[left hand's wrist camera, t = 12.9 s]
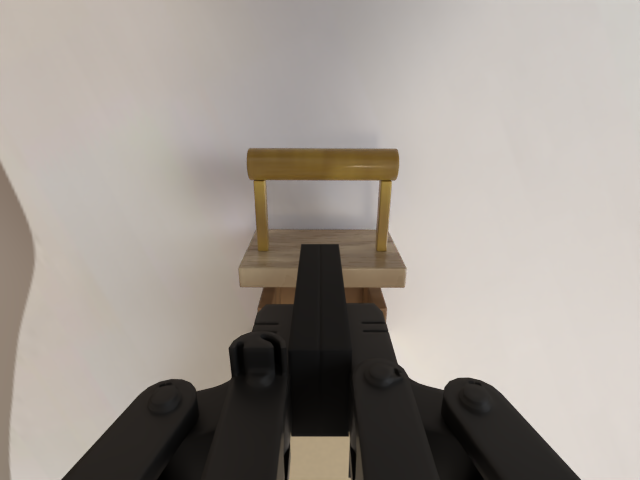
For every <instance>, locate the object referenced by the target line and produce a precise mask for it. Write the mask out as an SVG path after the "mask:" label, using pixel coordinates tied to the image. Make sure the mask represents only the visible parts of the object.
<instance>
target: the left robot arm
mask: <svg viewBox="0 0 640 480" xmlns="http://www.w3.org/2000/svg"><path fill="white" fill-rule="evenodd" d="M229 355H230V364H231V373H232V378H231V380H229V381H228V382H226V383H224V384H222V385H219V386H216V387H213V388H209V389H205V390H201V391H197V392H196V389H195V387H194V386H193V385H192V384H191V383H190V382H187V381H185V380H182V379H170V380H166V381H161V382H158V383H156V384H154V385H152V386H150V387H148V388H147V389H146V390H145V391H143V392H142V393H141V394H140V395H139V396H138V397H137V398H136V399H135V400H134V401H133V402H132V403H131V404H130V405H129V407H128V408H127V409H126V410H125V411H124V412H123V413H122V414H121V415H120V416H119V417H118V419H117V420H116V421H115V422H114V423H113V424H112V425H111V426H110V427H109V428H108V429H107V430H106V432H105V433H104V434H103V435H102V436H101V437H100V438H99V439H98V440H97V441H96V442H95V444H94V445H93V446H92V447H91V448H90V449H89V450H88V451H87V452H86V453H85V454H84V456H83V457H82V458H81V459H80V460H79V461H78V462H77V463H76V464H75V465H74V466H73V468H72V469H71V470H70V471H69V472H68V473H67V474H66V475H65V476H64V477H63V478H62V480H289V473H290V460H291V449H290V438H291V437H349V436H350V448H349V473H348V478H351V480H581V479H580V478H579V477H578V476H577V475H576V474H575V473H574V472H573V471H572V469H571V468H570V467H569V466H568V465H567V464H566V463H565V462H564V461H563V460H562V459H561V458H560V457H559V455H558V454H557V453H556V452H555V451H554V450H553V449H552V448H551V447H550V446H549V445H548V444H547V442H546V441H545V440H544V439H543V438H542V437H541V436H540V435H539V434H538V433H537V432H536V431H535V429H534V428H533V427H532V426H531V425H530V424H529V423H528V422H527V421H526V420H525V419H524V418H523V416H522V415H521V414H520V413H519V412H518V411H517V410H516V409H515V408H514V407H513V406H512V405H511V403H510V402H509V401H508V400H507V399H506V398H505V397H504V396H503V395H502V394H501V393H500V392H499V391H498V390H496V389H495V388H494V387H493V386H491V385H489V384H487V383H485V382H483V381H481V380H477V379H473V378H457V379H454V380H452V381H449V383H448V384H447V385H446V386H445V388H444V390H441V389H437V388H433V387H429V386H425V385H422V384H419V383H417V382H415V381H413V380H411V379H410V378H409V377H408V375H407V373H406V372H405V370H404V369H403V368H402V367H401V366H399V365H398V363H397V360H396V356H395V353H394V349H393V346H392V342H391V339H390V335H389V332H388V328H387V325H386V321H385V318H384V314H383V311H381V310H380V309H379V308H378V307H377V306H376V305H375V304H374V303H346V297H345V289H344V281H343V273H342V265H341V257H340V249H339V244H301V249H300V257H299V265H298V273H297V281H296V289H295V297H294V304H266V305H265V306H264V307H263V308H262V309H261V310H260V311H259V312H258V313H257V316H256V319H255V323H254V326H253V330H252V332H250V333H247V334H244V335H242V336H240V337H239V338H237V339H236V340H234V341H233V342H232V344H231V345H230V347H229Z"/></svg>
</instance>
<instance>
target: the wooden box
mask: <svg viewBox="0 0 640 480" xmlns="http://www.w3.org/2000/svg"><path fill="white" fill-rule="evenodd" d="M349 448H350V436H349V437H291V438H290V449H291V460H290V473H289V480H351V478H348V473H349Z"/></svg>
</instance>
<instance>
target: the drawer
mask: <svg viewBox="0 0 640 480" xmlns="http://www.w3.org/2000/svg"><path fill="white" fill-rule="evenodd" d="M398 171H399V154H398V150H397V149H321V148H249V149H248V153H247V172H248V177H249V179H250V180H254V196H255V212H256V228H257V230H256V231H255V234H254V236H253V238H252V240H251V242H250V244H249V247H248V249H247V251H246V253H245V255H244V257H243V260H242V262H241V264H240V266H239V268H238V270H239V282H240V287H264V288H263V291H262V295H261V298H260V302H259V305H258V308H257V309H258V312H259V311H260V310H261V309H262V308H263V307H264V306H265V305H266V304H294V297H295V289H296V281H297V273H298V265H299V257H300V249H301V244H339V249H340V257H341V265H342V273H343V281H344V289H345V297H346V303H374V304H375V305H376V306H377V307H378V308H379V309H380V310H381V311H383V314H384V318H385V321H386V316H387V307H386V304H385V301H384V298H383V294H382V291H381V288H404V287H405V281H406V271H407V269H406V266H405V264H404V262H403V260H402V258H401V256H400V254H399V252H398V250H397V248H396V246H395V244H394V242H393V240H392V238H391V236H390V234H389V232H388V226H389V213H390V199H391V186H392V182H391V181H395V180H396V179H397V176H398ZM266 180H380V181H379V197H378V212H377V228H376V230H268V212H267V192H266Z"/></svg>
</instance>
